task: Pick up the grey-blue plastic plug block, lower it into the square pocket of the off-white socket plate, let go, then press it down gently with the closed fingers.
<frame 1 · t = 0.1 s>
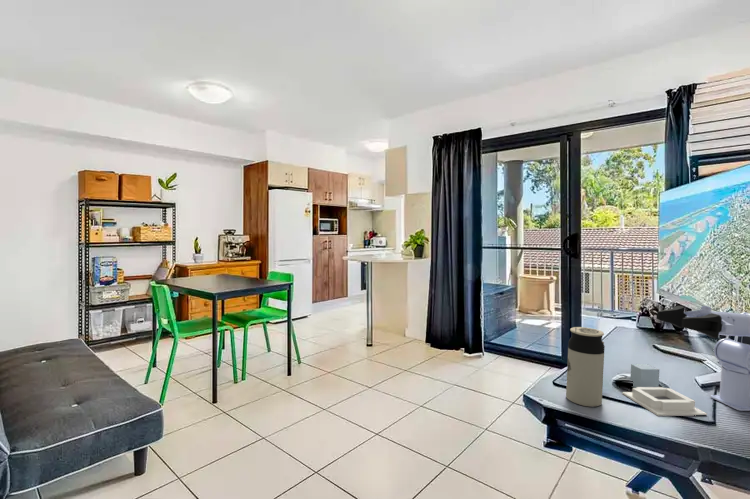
hand: (670, 318, 94), 22 cm above the table, tool horizontal, fingers open, 7 cm apart
snail figurine: (589, 382, 109), on the table
socket plate: (662, 404, 95), on the table
travel mug: (583, 401, 96), on the table
plug block: (643, 388, 105), on the table
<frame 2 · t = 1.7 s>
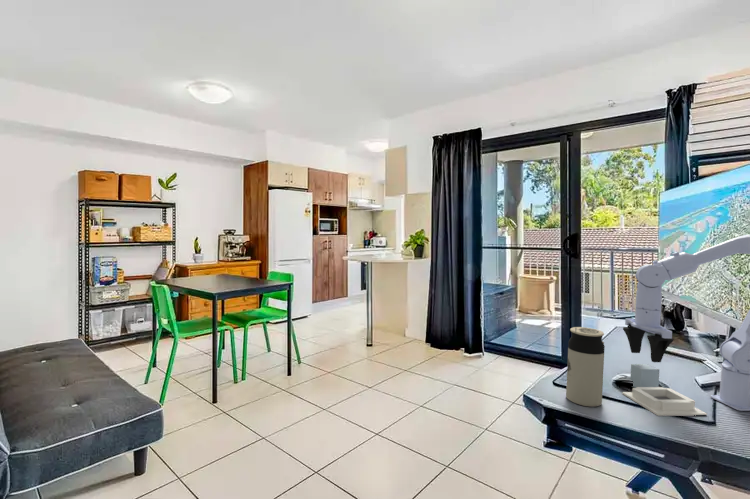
hand: (645, 357, 105), 9 cm above the table, tool pointing down, fingers open, 7 cm apart
nothing on the table moved.
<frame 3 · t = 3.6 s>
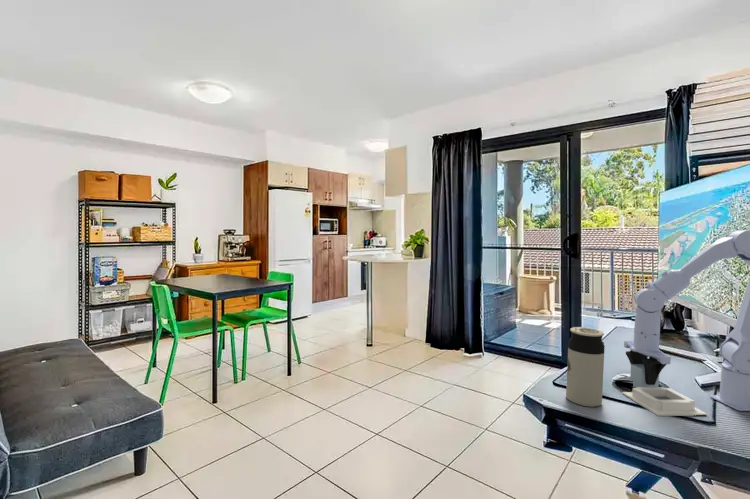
hand: (644, 380, 105), 2 cm above the table, tool pointing down, fingers closed on plug block, 4 cm apart
plug block: (643, 387, 105), on the table, touching gripper
everything else where it was.
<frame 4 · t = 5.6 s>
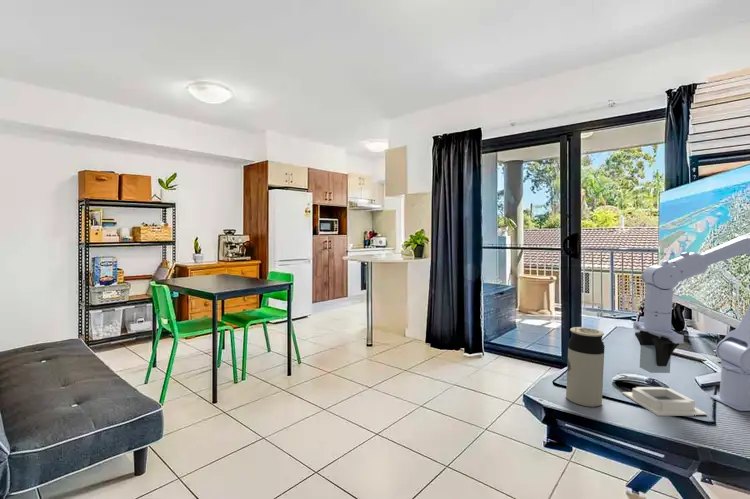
hand: (654, 362, 99), 9 cm above the table, tool pointing down, fingers closed on plug block, 4 cm apart
plug block: (654, 370, 100), point 7 cm above the table, touching gripper
everything else where it was.
when the fingers open (3 cm above the table, at t = 7.7 s): plug block stays where it is, resting on socket plate.
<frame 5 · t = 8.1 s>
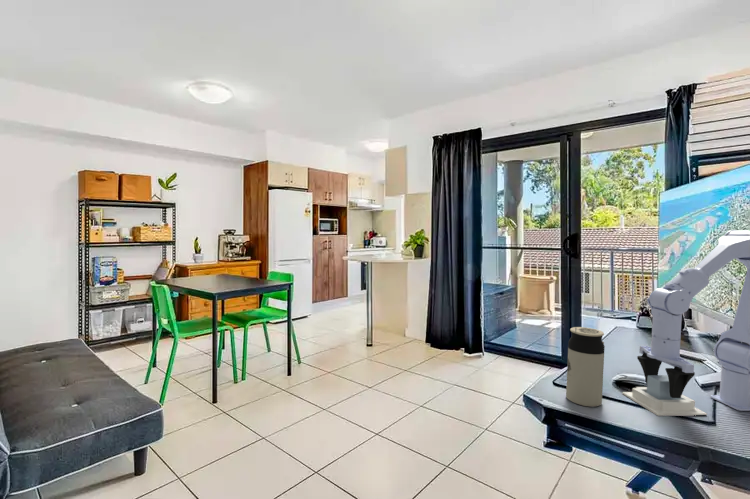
hand: (662, 390, 95), 3 cm above the table, tool pointing down, fingers open, 7 cm apart
plug block: (662, 401, 95), point 1 cm above the table, touching socket plate
everything else where it was.
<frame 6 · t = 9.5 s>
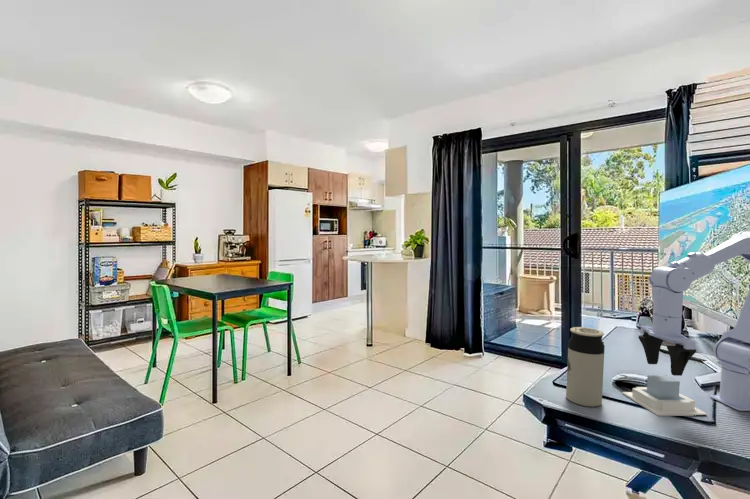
hand: (664, 369, 95), 9 cm above the table, tool pointing down, fingers open, 7 cm apart
nothing on the table moved.
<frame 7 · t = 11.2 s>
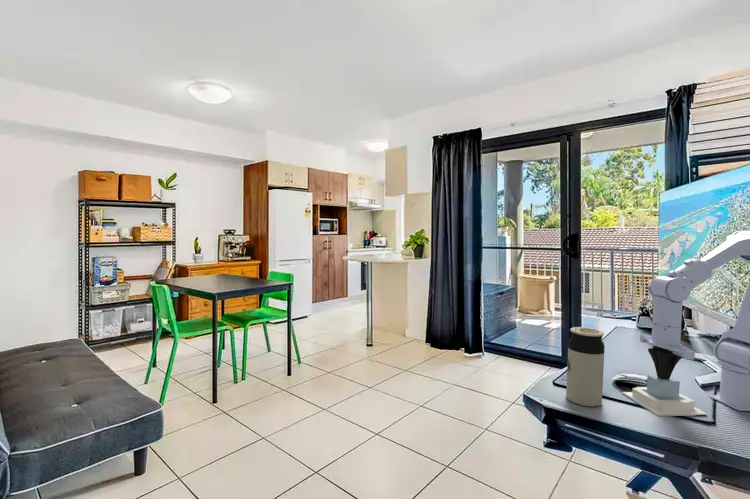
hand: (663, 378, 95), 7 cm above the table, tool pointing down, fingers closed, pressing on plug block
plug block: (662, 401, 95), point 1 cm above the table, touching gripper, socket plate
everything else where it was.
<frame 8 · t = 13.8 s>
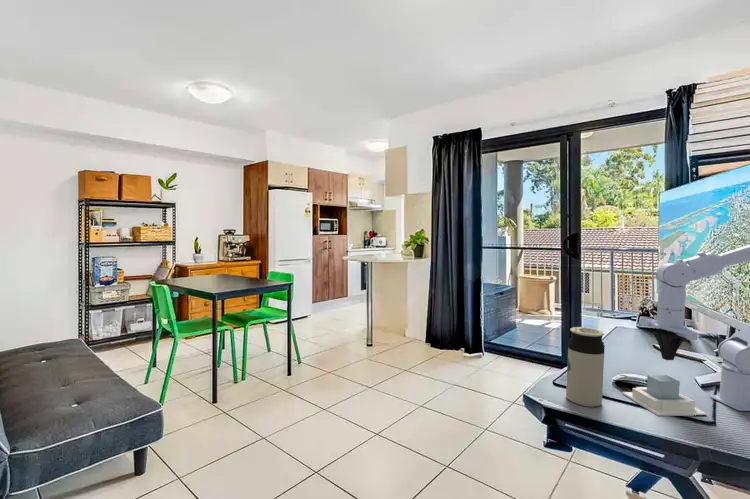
hand: (667, 359, 101), 9 cm above the table, tool pointing down, fingers closed
plug block: (662, 401, 95), point 1 cm above the table, touching socket plate
everything else where it was.
at the end: plug block 0.0 cm off-centre on the socket plate, point 0.6 cm above the socket plate's base; plug block tilted 0°; the gripper is holding nothing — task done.
